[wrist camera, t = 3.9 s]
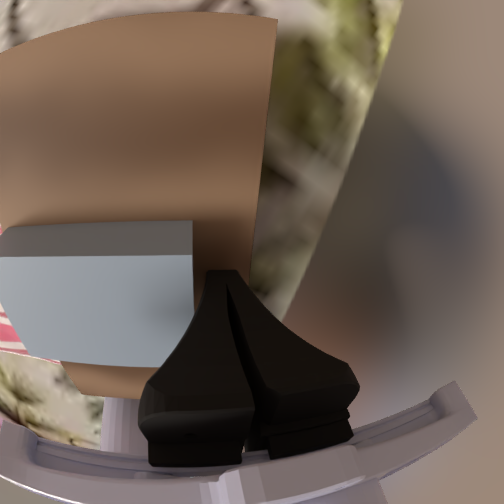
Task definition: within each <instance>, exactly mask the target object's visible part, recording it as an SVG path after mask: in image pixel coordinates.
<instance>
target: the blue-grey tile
mask: <svg viewBox="0 0 504 504" xmlns="http://www.w3.org/2000/svg"><path fill="white" fill-rule="evenodd" d="M192 221H193V220H181V221H128V222H98V223H74V224H54V225H37V226H22V227H8V228H7V229H6V230H5V231H4V232H3V233H2V234H1V235H0V303H1V305H2V307H3V309H4V311H5V313H6V315H7V317H8V319H9V321H10V323H11V324H12V326H13V328H14V330H15V332H16V333H17V335H18V337H19V338H20V340H21V342H22V343H23V345H24V347H25V348H26V350H27V351H28V353H29V354H30V356H33V357H39V358H45V359H52V360H59V361H67V362H76V363H86V364H97V365H110V366H128V367H161V365H162V364H163V363H164V362H165V360H166V359H167V358H168V357H169V355H170V354H171V353H172V351H173V350H174V349H175V347H176V346H177V344H178V343H179V341H180V340H181V338H182V336H183V335H184V333H185V331H186V330H187V328H188V326H189V324H190V322H191V320H192V318H193V316H194V314H195V309H194V284H193V228H192Z"/></svg>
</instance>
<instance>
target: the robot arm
mask: <svg viewBox="0 0 504 504" xmlns="http://www.w3.org/2000/svg"><path fill="white" fill-rule="evenodd" d="M359 389H360V385H359V383H358V381H357V379H356V377H355V375H354V373H353V371H352V370H351V368H350V367H349V365H348V363H346V362H344V361H341V360H339V359H337V358H335V357H333V356H331V355H328V354H326V353H324V352H323V351H321V350H319V349H317V348H316V347H314V346H312V345H311V344H309V343H307V342H306V341H305V340H303V339H302V338H300V337H299V336H297V335H296V334H295V333H293V332H292V331H291V330H289V329H288V328H287V327H286V326H284V325H283V324H282V323H281V322H280V321H279V320H278V319H277V318H276V317H275V316H274V315H273V314H272V313H271V312H270V311H269V310H268V309H267V308H266V307H265V306H264V305H263V304H262V303H261V302H260V300H259V299H258V298H257V297H256V296H255V294H254V293H253V292H252V291H251V289H250V288H249V287H248V285H247V284H246V282H245V281H244V280H243V278H242V277H241V275H240V274H239V272H238V271H237V270H236V269H234V270H208V271H207V272H206V282H205V286H204V290H203V293H202V296H201V299H200V302H199V305H198V307H197V309H196V312H195V314H194V316H193V318H192V320H191V322H190V324H189V326H188V328H187V330H186V331H185V333H184V335H183V336H182V338H181V340H180V341H179V343H178V344H177V346H176V347H175V349H174V350H173V351H172V353H171V354H170V355H169V357H168V358H167V359H166V360H165V362H164V363H163V364H162V365H161V367H160V368H159V369H158V370H157V371H156V372H155V373H154V374H153V375H152V376H151V377H150V378H149V379H148V381H147V382H146V384H145V386H144V389H143V392H142V395H141V398H140V399H127V398H113V397H105V400H104V409H103V418H102V428H101V441H100V450H94V449H88V448H83V447H77V446H73V445H68V444H63V443H59V442H55V441H51V440H47V439H44V438H40V437H37V435H36V434H35V433H34V432H32V431H31V430H30V429H28V428H26V427H24V426H21V425H18V424H15V423H12V422H9V421H6V420H3V422H2V426H1V431H0V477H2V478H4V479H6V480H7V481H9V482H11V483H13V484H15V485H17V486H20V487H22V488H24V489H26V490H28V491H31V492H33V493H36V494H38V495H41V496H44V497H47V498H50V499H53V500H56V501H59V502H62V503H65V504H388V503H387V501H386V498H385V495H384V493H383V490H382V488H381V485H380V483H379V480H381V479H383V478H385V477H387V476H389V475H391V474H393V473H395V472H397V471H399V470H401V469H403V468H405V467H407V466H409V465H411V464H412V463H414V462H416V461H418V460H419V459H421V458H423V457H425V456H426V455H428V454H430V453H431V452H433V451H434V450H436V449H438V448H439V447H440V446H442V445H444V444H445V443H447V442H448V441H450V440H451V439H452V438H454V437H455V436H457V435H458V434H459V433H461V432H462V431H463V430H464V429H466V428H467V427H468V426H469V425H471V424H472V423H473V422H474V421H476V420H477V416H476V414H475V413H474V411H473V409H472V407H471V406H470V404H469V402H468V400H467V399H466V397H465V395H464V394H463V392H462V391H461V389H460V387H459V386H458V384H457V383H456V381H452V382H451V383H449V384H447V385H445V386H443V387H441V388H440V389H438V390H437V391H436V392H434V394H432V396H431V397H430V398H429V399H428V400H426V401H424V402H422V403H419V404H417V405H415V406H413V407H411V408H408V409H406V410H404V411H401V412H399V413H397V414H394V415H392V416H389V417H386V418H384V419H381V420H379V421H376V422H373V423H370V424H368V425H365V426H362V427H358V428H355V429H351V426H350V424H349V422H348V418H349V417H350V414H349V412H348V409H347V407H348V406H349V405H350V404H351V402H352V401H353V400H354V399H355V397H356V396H357V394H358V392H359ZM243 446H244V447H245V452H244V453H242V450H243ZM198 476H203V477H198ZM190 477H193V478H190Z"/></svg>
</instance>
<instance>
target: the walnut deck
mask: <svg viewBox="0 0 504 504" xmlns="http://www.w3.org/2000/svg"><path fill="white" fill-rule="evenodd" d="M277 23H278V19H273V18H267V17H260V16H252V15H243V14H232V13H218V12H166V13H151V14H141V15H132V16H125V17H118V18H112V19H106V20H101V21H96V22H91V23H87V24H82V25H78V26H74V27H70V28H67V29H63V30H60V31H57V32H53V33H50V34H47V35H44V36H41V37H38V38H36V39H33V40H30V41H27V42H25V43H22V44H20V45H18V46H15V47H13V48H11V49H8V50H6V51H4V52H2V53H0V225H1V229H2V232H4V231H5V230H6V229H7V228H8V227H22V226H37V225H54V224H74V223H98V222H128V221H181V220H193V221H192V228H193V284H194V309H195V312H196V309H197V307H198V305H199V302H200V299H201V296H202V293H203V290H204V286H205V282H206V272H207V271H208V270H234V269H236V270H237V271H238V272H239V274H240V275H241V277H242V278H243V280H244V281H245V282H246V284H247V285H248V284H249V275H250V266H251V257H252V248H253V239H254V230H255V221H256V212H257V203H258V194H259V185H260V176H261V167H262V158H263V149H264V140H265V131H266V122H267V113H268V104H269V95H270V86H271V77H272V68H273V59H274V50H275V41H276V32H277ZM60 363H61V364H62V366H63V367H64V369H65V370H66V372H67V373H68V375H69V377H70V378H71V380H72V381H73V382H74V384H75V385H76V387H77V388H78V390H79V391H80V392H81V394H84V395H93V396H102V397H113V398H127V399H140V398H141V395H142V392H143V389H144V386H145V384H146V382H147V381H148V379H149V378H150V377H151V376H152V375H153V374H154V373H155V372H156V371H157V370H158V369H159V368H160V367H128V366H110V365H97V364H86V363H76V362H67V361H60Z"/></svg>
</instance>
